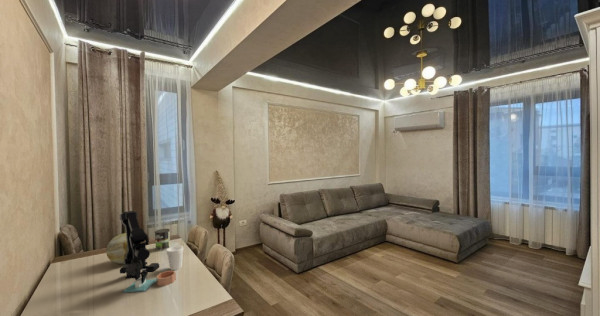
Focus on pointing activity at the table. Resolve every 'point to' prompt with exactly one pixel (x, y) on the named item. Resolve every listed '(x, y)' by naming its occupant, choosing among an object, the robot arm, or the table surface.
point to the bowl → (165, 278)
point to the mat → (140, 291)
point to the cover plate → (145, 286)
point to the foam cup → (175, 257)
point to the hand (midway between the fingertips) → (140, 283)
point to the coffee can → (162, 239)
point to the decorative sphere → (117, 249)
